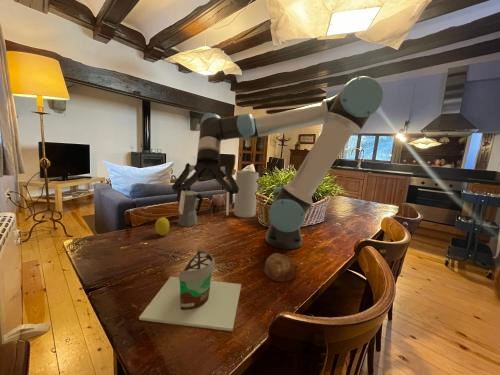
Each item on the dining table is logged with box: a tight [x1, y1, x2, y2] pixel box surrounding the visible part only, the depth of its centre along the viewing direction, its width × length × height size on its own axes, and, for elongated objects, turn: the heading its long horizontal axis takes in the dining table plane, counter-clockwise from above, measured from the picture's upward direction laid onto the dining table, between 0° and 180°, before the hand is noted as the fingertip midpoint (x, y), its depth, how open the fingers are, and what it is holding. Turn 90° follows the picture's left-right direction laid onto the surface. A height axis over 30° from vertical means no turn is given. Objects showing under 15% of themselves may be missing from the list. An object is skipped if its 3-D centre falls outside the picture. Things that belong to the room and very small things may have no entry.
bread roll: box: [263, 252, 298, 282], centre depth 71 cm, size 10×10×8 cm
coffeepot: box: [177, 186, 204, 227], centre depth 109 cm, size 15×9×18 cm, turn 59°
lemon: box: [154, 216, 170, 237], centre depth 93 cm, size 6×6×8 cm
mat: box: [138, 276, 242, 332], centre depth 56 cm, size 20×16×1 cm
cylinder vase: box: [233, 170, 260, 219], centre depth 130 cm, size 12×12×25 cm
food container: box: [178, 248, 216, 310], centre depth 55 cm, size 12×6×10 cm, turn 174°
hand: (204, 213), depth 68 cm, fingers open, 13 cm apart
